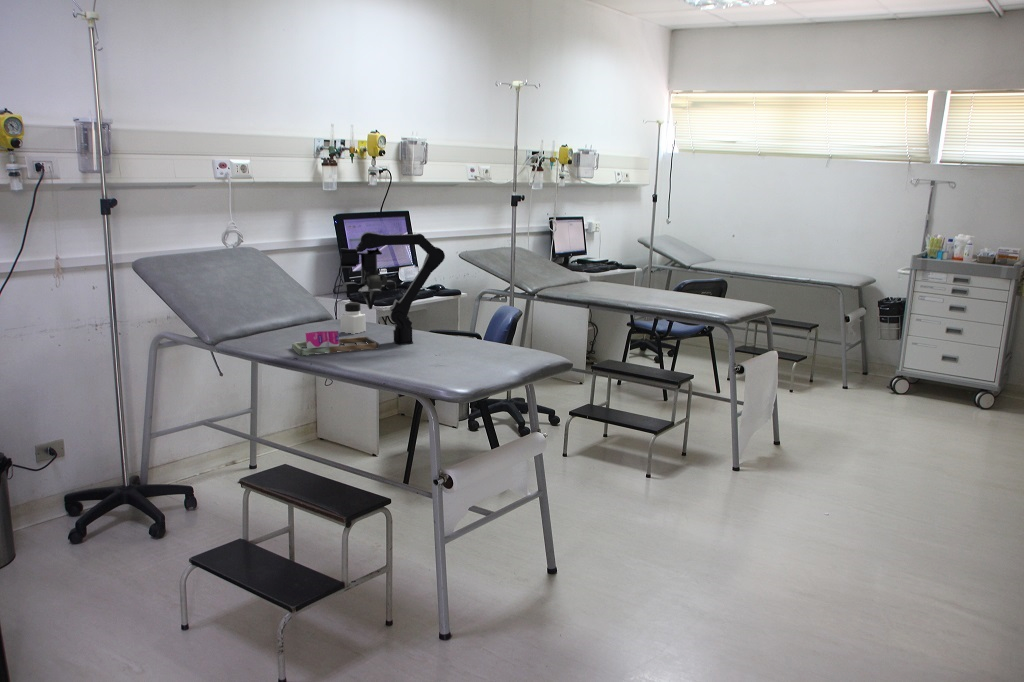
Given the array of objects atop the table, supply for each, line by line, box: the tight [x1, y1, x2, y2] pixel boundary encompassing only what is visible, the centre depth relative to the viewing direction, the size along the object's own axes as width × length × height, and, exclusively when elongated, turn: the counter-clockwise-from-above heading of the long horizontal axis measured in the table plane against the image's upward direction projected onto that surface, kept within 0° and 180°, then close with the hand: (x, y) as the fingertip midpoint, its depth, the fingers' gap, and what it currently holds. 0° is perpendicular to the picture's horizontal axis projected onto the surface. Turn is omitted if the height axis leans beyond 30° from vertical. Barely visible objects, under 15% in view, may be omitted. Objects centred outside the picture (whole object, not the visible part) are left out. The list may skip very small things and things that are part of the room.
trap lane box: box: [291, 336, 380, 357], centre depth 294 cm, size 28×14×2 cm, turn 117°
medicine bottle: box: [339, 301, 367, 335], centre depth 324 cm, size 7×7×12 cm
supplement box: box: [305, 330, 341, 349], centre depth 288 cm, size 6×6×12 cm
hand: (370, 309), depth 301 cm, fingers closed
